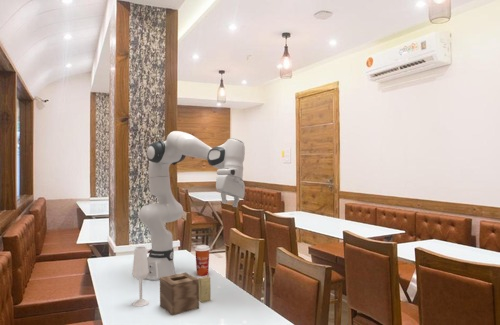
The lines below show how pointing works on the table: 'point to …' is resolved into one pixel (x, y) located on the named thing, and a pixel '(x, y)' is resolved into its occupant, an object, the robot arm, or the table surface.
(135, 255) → the champagne flute
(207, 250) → the coffee cup
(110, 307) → the table surface
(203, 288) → the olive yellow block
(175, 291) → the walnut tip box
